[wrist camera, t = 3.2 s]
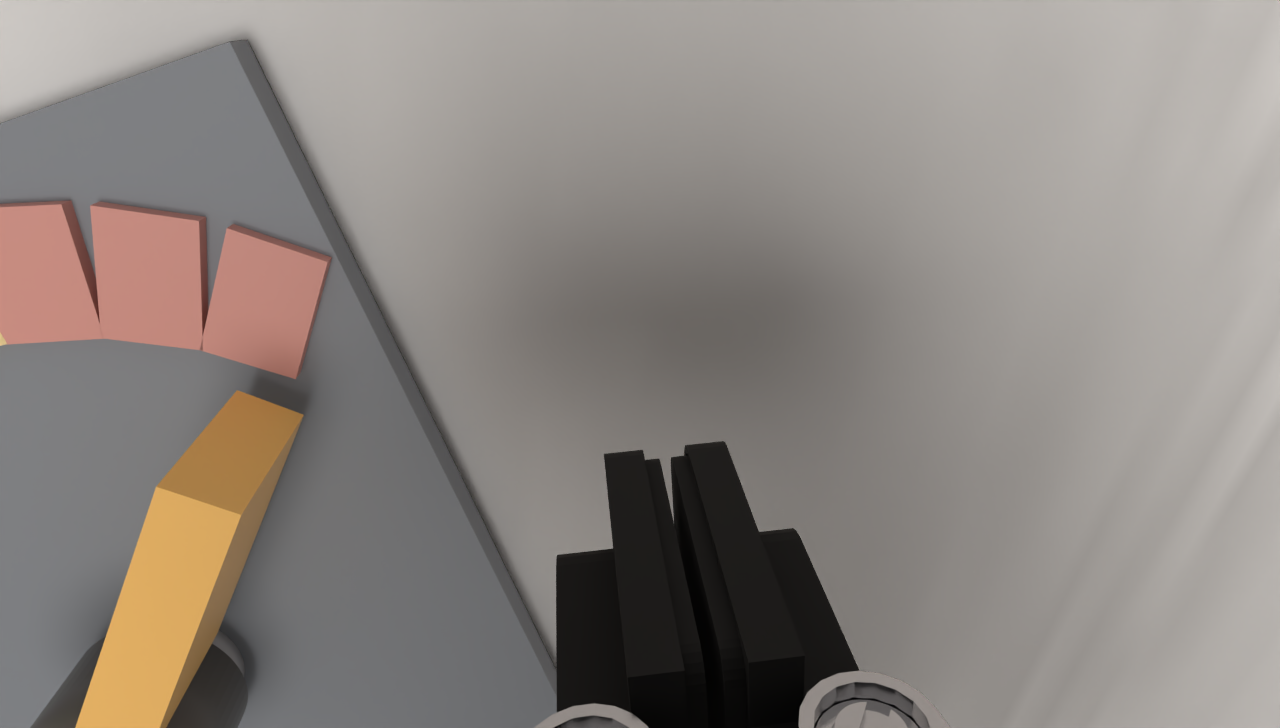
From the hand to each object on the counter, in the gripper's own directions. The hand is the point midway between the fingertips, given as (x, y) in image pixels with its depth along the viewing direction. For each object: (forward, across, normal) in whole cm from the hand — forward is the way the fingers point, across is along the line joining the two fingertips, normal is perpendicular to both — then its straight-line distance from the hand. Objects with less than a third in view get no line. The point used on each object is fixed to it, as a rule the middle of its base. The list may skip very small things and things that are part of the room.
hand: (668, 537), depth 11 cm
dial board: (+6, +10, +5) cm, 13 cm away
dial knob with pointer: (+4, +9, +3) cm, 11 cm away
